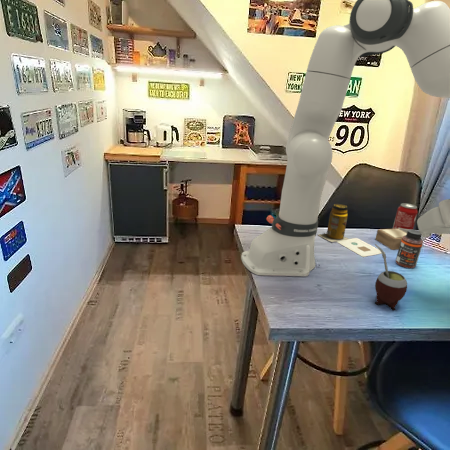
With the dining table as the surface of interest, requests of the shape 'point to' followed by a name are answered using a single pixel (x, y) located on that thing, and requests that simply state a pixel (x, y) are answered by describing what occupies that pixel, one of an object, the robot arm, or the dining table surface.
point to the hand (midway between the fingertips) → (440, 235)
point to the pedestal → (390, 237)
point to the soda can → (405, 217)
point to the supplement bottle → (409, 249)
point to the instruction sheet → (359, 247)
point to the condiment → (336, 223)
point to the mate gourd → (389, 286)
